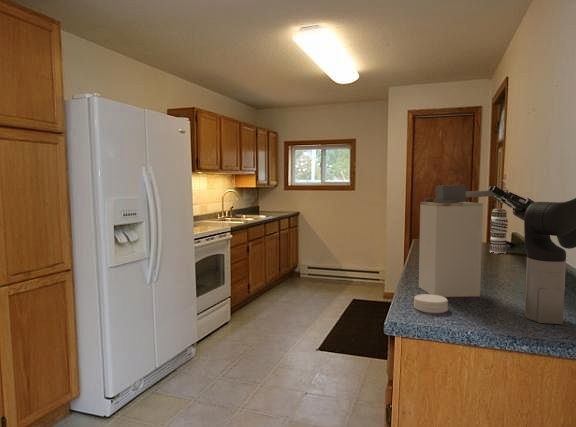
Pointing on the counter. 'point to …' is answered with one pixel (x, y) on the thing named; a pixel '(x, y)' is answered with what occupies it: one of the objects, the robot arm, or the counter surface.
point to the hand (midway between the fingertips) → (491, 188)
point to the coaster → (430, 303)
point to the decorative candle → (498, 231)
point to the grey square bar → (459, 193)
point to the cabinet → (450, 247)
